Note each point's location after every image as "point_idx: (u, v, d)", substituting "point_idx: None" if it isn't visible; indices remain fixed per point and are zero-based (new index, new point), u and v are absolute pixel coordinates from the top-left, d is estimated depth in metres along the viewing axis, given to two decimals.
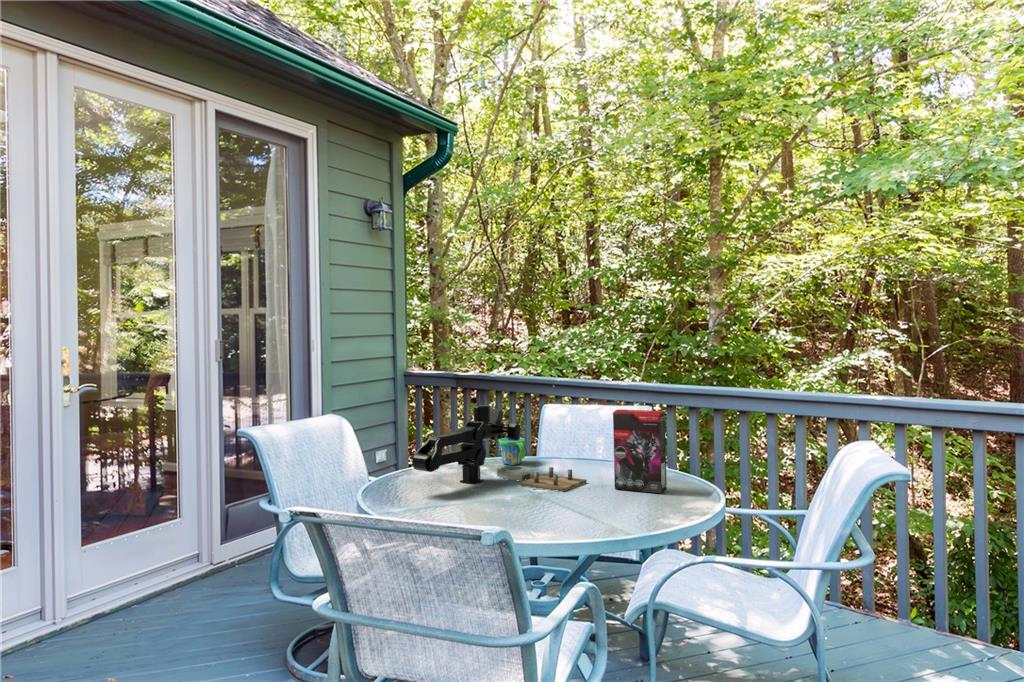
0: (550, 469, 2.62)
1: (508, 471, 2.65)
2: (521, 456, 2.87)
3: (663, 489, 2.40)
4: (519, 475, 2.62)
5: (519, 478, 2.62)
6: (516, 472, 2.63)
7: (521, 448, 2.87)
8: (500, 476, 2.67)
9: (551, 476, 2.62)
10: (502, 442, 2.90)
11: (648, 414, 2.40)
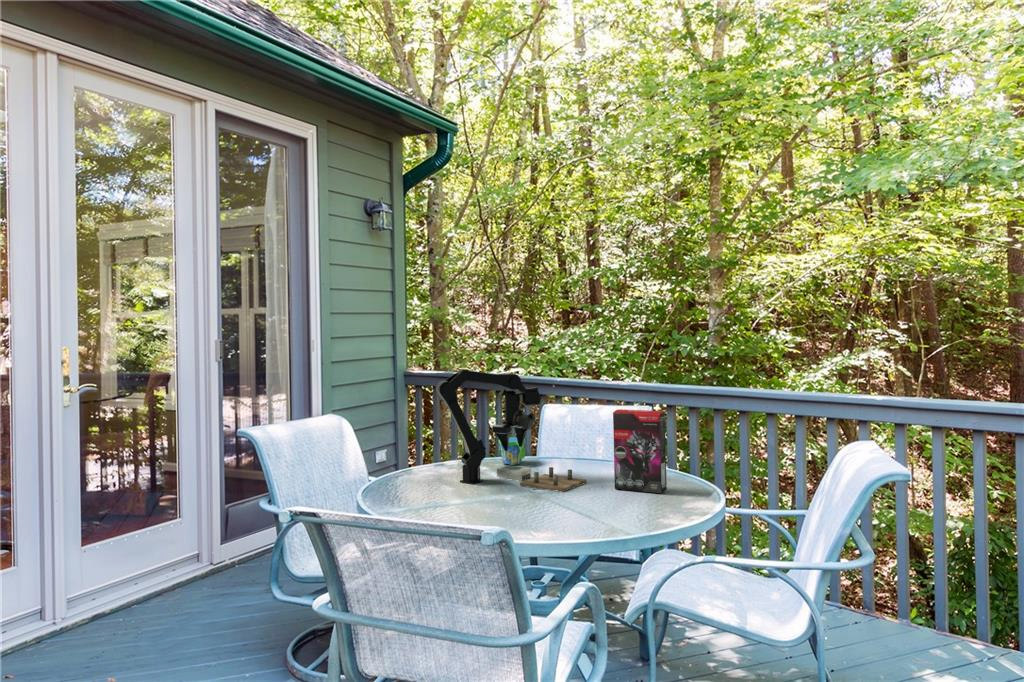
0: (550, 469, 2.62)
1: (508, 471, 2.65)
2: (521, 456, 2.87)
3: (663, 489, 2.40)
4: (519, 475, 2.62)
5: (520, 478, 2.62)
6: (516, 472, 2.63)
7: (521, 448, 2.87)
8: (500, 476, 2.67)
9: (551, 476, 2.62)
10: None
11: (648, 414, 2.40)
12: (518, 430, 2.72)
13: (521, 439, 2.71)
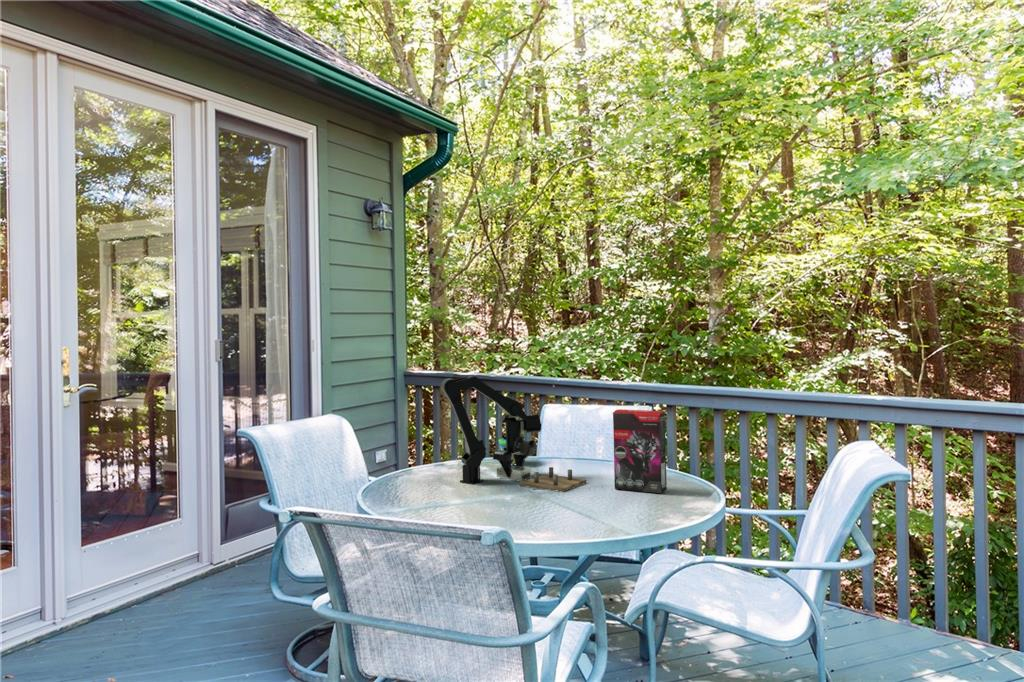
0: (550, 469, 2.62)
1: None
2: None
3: (663, 489, 2.40)
4: (519, 474, 2.62)
5: (519, 478, 2.62)
6: (516, 471, 2.63)
7: None
8: (500, 476, 2.67)
9: (551, 476, 2.62)
10: (502, 442, 2.90)
11: (648, 414, 2.40)
12: (517, 457, 2.71)
13: None
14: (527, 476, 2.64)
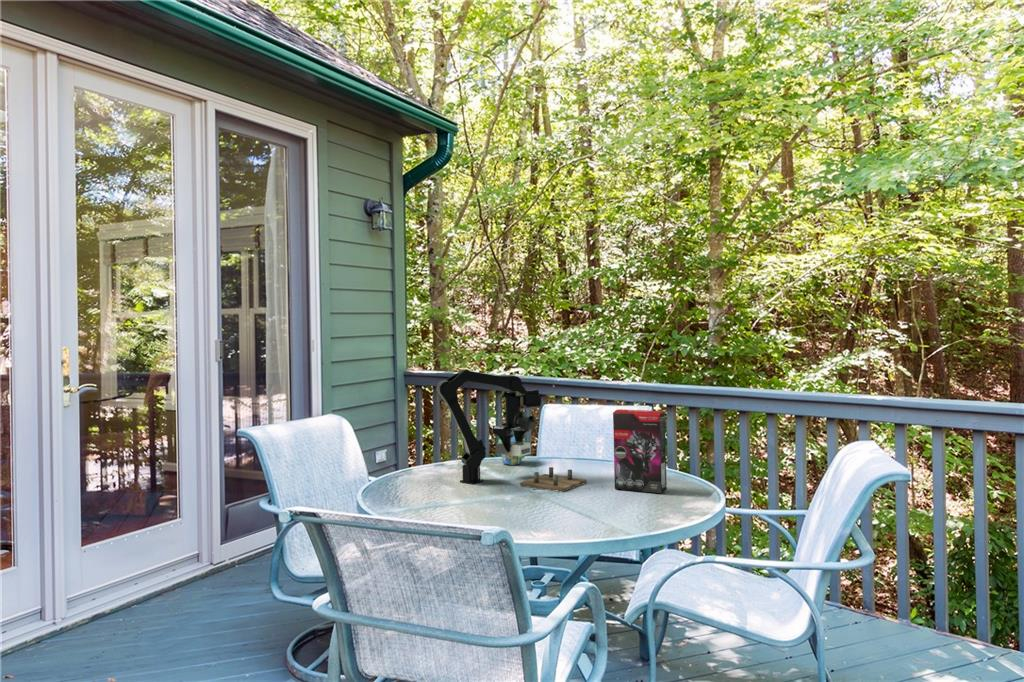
0: (550, 469, 2.62)
1: None
2: (521, 456, 2.87)
3: (663, 489, 2.40)
4: (518, 449, 2.62)
5: (519, 453, 2.62)
6: (515, 446, 2.63)
7: None
8: (500, 451, 2.67)
9: (551, 476, 2.62)
10: None
11: (648, 414, 2.40)
12: (517, 432, 2.71)
13: (520, 441, 2.70)
14: (526, 451, 2.64)
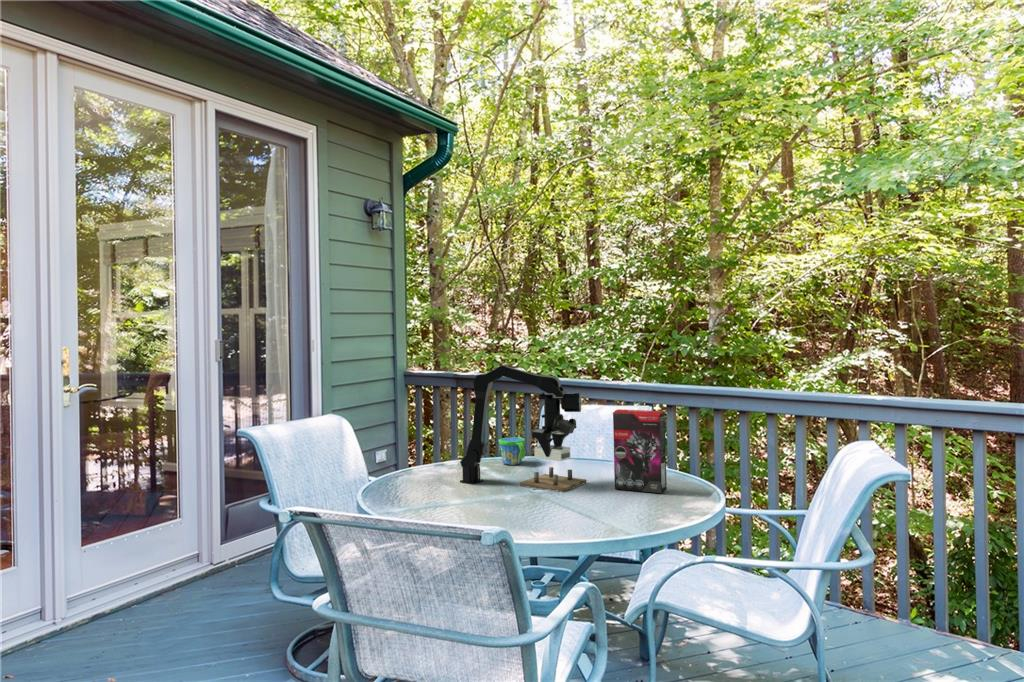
0: (550, 469, 2.62)
1: None
2: (521, 456, 2.87)
3: (663, 489, 2.40)
4: (558, 453, 2.50)
5: (559, 457, 2.50)
6: (555, 451, 2.51)
7: (521, 448, 2.87)
8: (538, 455, 2.56)
9: (551, 476, 2.62)
10: (502, 442, 2.90)
11: (648, 414, 2.40)
12: (555, 436, 2.59)
13: None
14: (566, 456, 2.53)
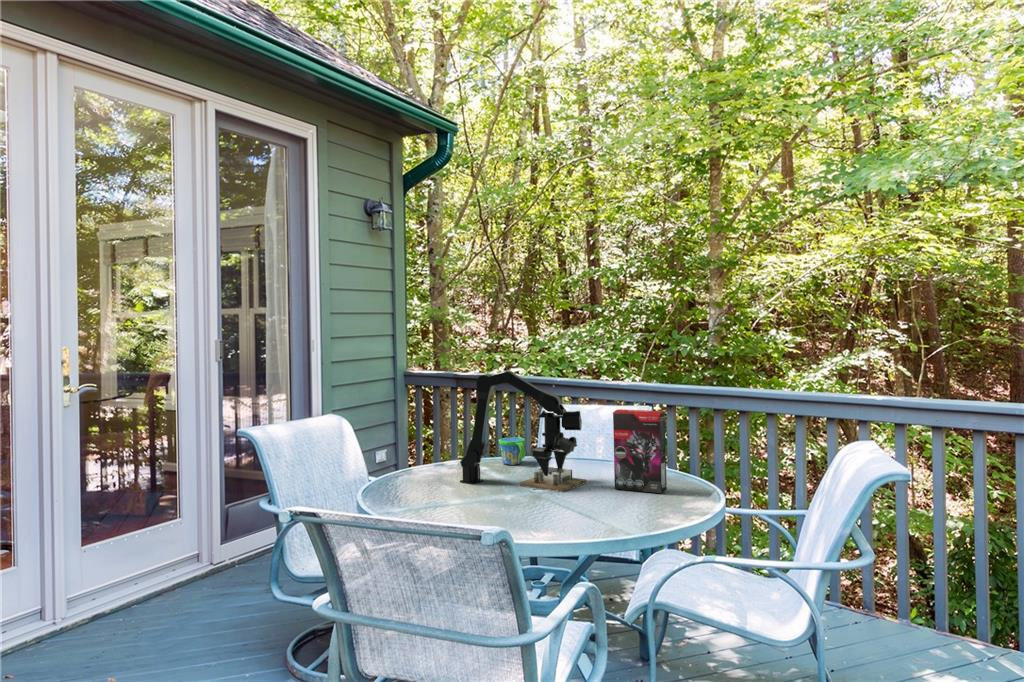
0: None
1: None
2: (521, 456, 2.87)
3: (663, 489, 2.40)
4: (559, 476, 2.51)
5: (559, 480, 2.51)
6: None
7: (521, 448, 2.87)
8: None
9: None
10: (502, 442, 2.90)
11: (648, 414, 2.40)
12: (557, 454, 2.61)
13: (561, 463, 2.59)
14: (567, 479, 2.53)
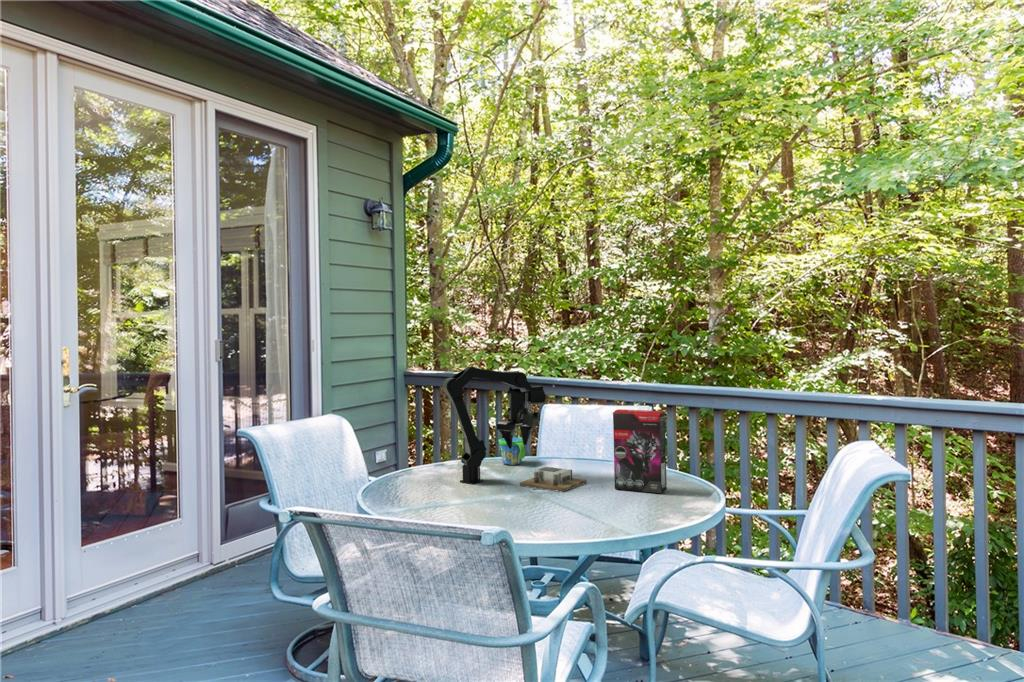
0: None
1: (547, 473, 2.54)
2: (521, 456, 2.87)
3: (663, 489, 2.40)
4: (559, 476, 2.51)
5: (559, 480, 2.51)
6: None
7: (521, 448, 2.87)
8: None
9: None
10: (502, 442, 2.90)
11: (648, 414, 2.40)
12: (523, 428, 2.73)
13: (526, 437, 2.72)
14: (567, 479, 2.53)
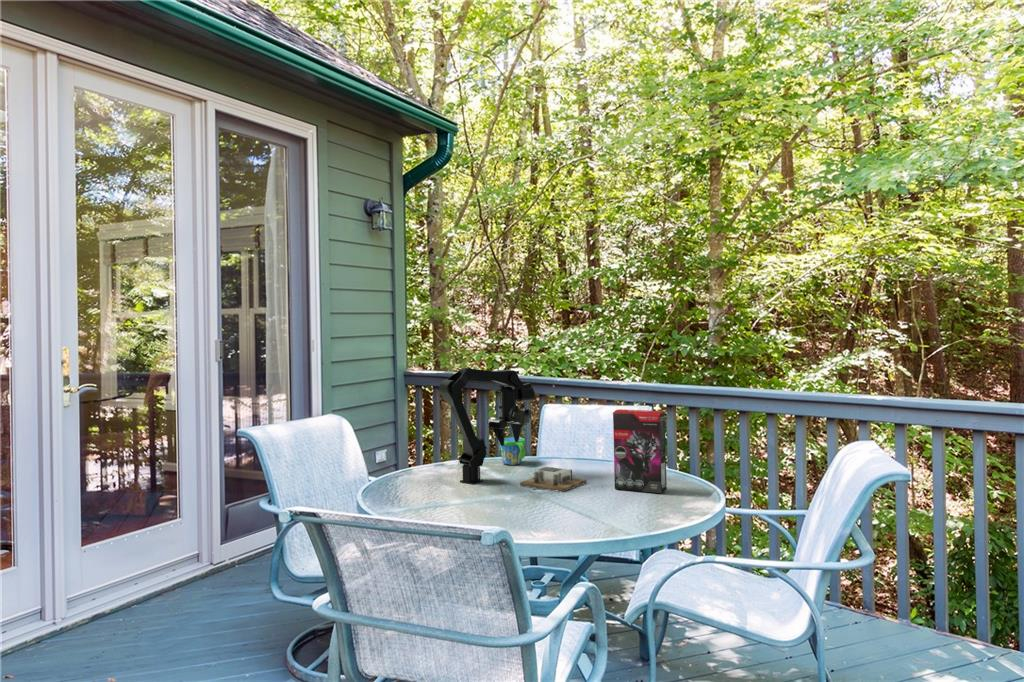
0: None
1: (547, 473, 2.54)
2: (521, 456, 2.87)
3: (663, 489, 2.40)
4: (559, 476, 2.51)
5: (559, 480, 2.51)
6: None
7: (521, 448, 2.87)
8: None
9: None
10: None
11: (648, 414, 2.40)
12: (514, 426, 2.76)
13: (517, 434, 2.75)
14: (567, 479, 2.53)
